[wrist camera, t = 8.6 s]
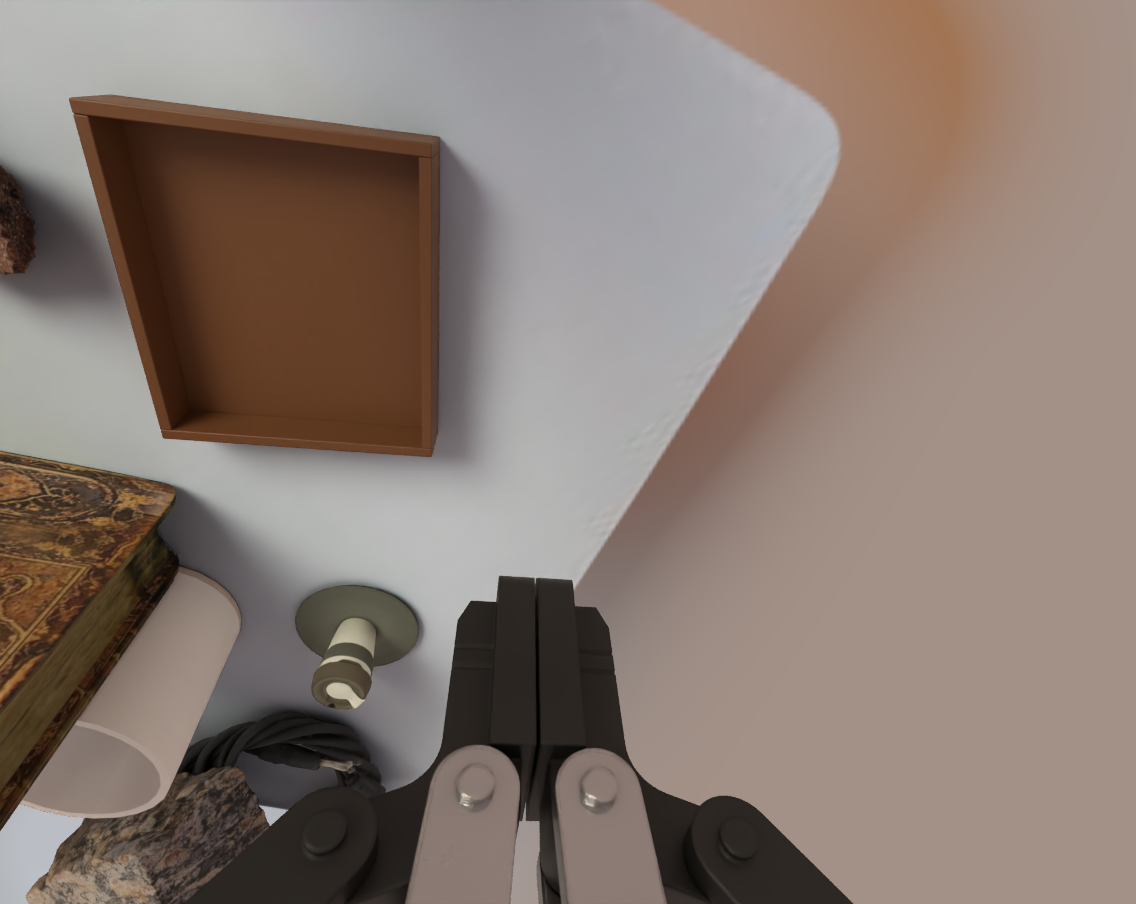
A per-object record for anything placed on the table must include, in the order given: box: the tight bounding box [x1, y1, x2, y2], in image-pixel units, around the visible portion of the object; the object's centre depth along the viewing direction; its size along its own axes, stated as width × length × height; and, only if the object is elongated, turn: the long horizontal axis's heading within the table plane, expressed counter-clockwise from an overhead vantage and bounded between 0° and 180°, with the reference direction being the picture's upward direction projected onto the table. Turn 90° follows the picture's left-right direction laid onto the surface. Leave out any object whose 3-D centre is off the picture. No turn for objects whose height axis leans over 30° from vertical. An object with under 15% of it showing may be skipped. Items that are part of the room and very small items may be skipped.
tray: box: [69, 95, 440, 457], centre depth 27 cm, size 14×12×2 cm
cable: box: [176, 712, 386, 799], centre depth 46 cm, size 17×14×4 cm
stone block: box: [26, 766, 270, 904], centre depth 41 cm, size 14×9×8 cm, turn 117°
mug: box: [19, 566, 241, 819], centre depth 34 cm, size 11×9×10 cm
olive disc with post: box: [295, 585, 418, 709], centre depth 37 cm, size 12×12×5 cm
